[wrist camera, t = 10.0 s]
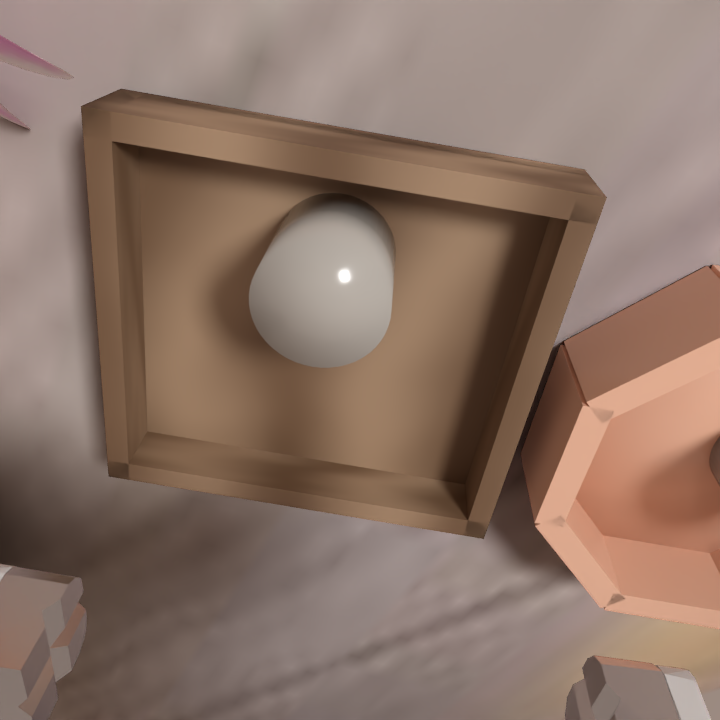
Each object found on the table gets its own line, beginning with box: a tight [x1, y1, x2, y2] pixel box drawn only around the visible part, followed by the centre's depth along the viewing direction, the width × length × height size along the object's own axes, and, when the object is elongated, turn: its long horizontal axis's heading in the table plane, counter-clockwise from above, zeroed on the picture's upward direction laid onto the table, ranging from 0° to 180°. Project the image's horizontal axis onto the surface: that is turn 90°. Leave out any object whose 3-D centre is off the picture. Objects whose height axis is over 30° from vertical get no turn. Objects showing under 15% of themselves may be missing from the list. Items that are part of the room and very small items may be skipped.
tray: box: [81, 89, 607, 539], centre depth 23 cm, size 15×14×3 cm
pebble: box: [249, 193, 396, 368], centre depth 20 cm, size 4×4×4 cm
